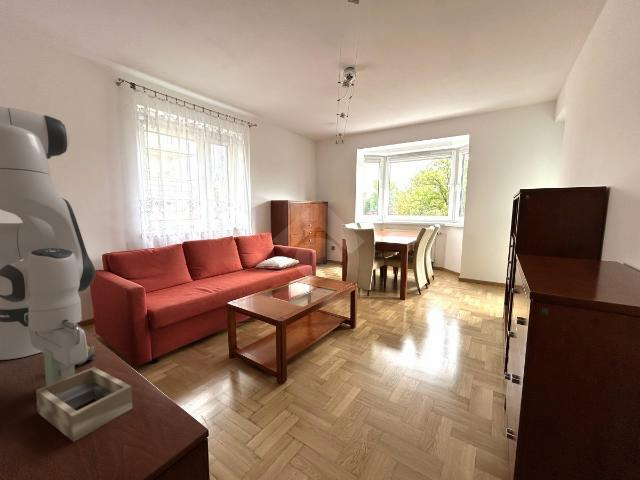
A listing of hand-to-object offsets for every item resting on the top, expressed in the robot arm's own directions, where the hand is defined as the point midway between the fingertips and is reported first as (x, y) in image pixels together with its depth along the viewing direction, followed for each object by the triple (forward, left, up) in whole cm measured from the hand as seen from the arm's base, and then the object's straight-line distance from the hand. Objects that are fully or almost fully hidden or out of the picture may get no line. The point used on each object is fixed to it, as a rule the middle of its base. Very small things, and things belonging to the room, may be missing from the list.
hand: (60, 372), depth 64 cm
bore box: (+15, -1, -4) cm, 15 cm away
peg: (0, 0, -4) cm, 4 cm away
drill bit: (-8, +7, -4) cm, 11 cm away
